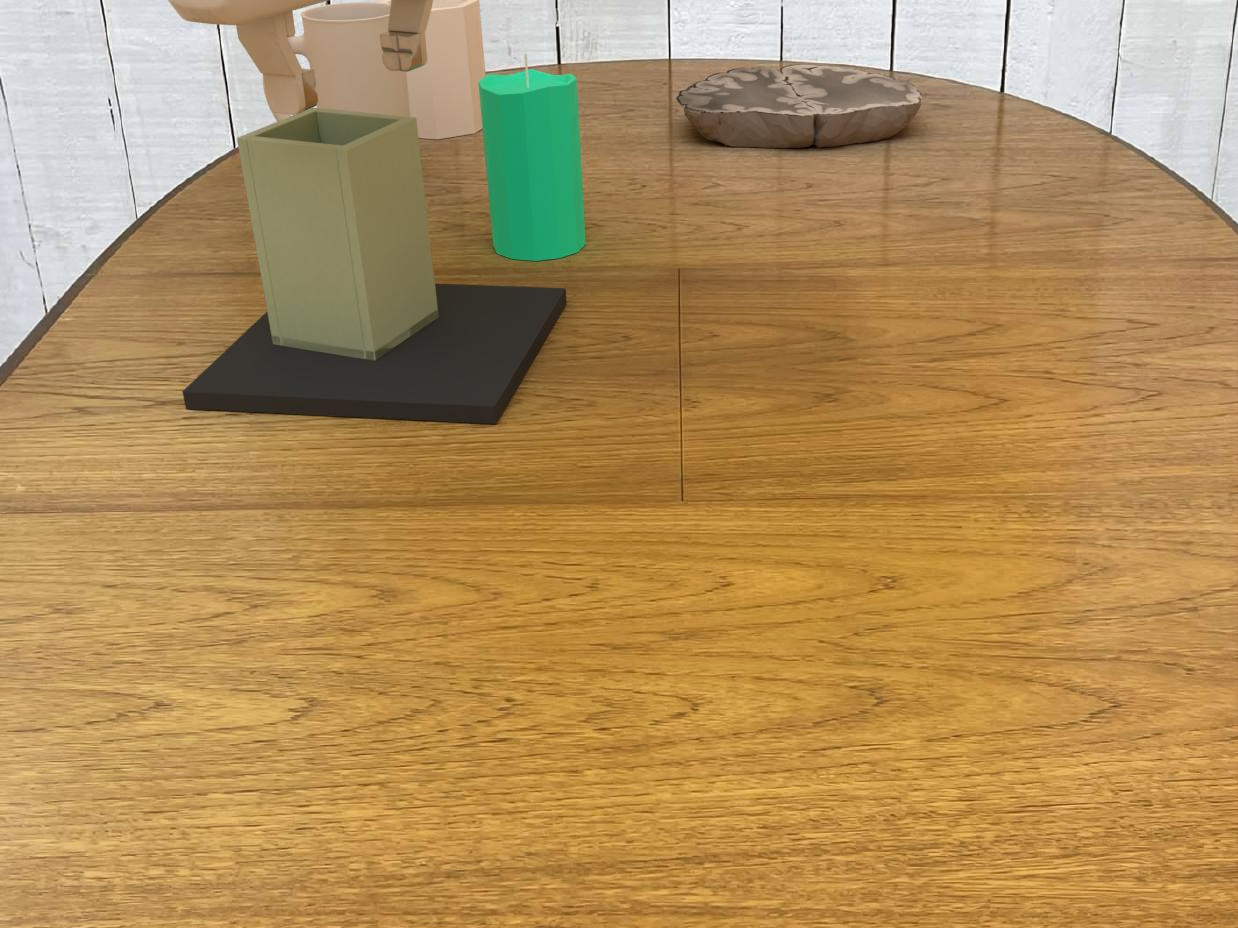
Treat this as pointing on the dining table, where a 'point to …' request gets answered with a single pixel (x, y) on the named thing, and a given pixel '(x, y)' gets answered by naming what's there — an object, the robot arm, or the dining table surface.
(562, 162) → the candle
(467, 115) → the mug
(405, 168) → the green box
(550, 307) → the mat
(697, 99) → the brain slice
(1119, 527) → the dining table surface
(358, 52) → the mug
